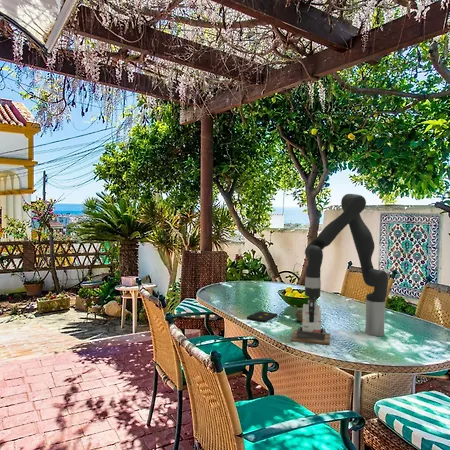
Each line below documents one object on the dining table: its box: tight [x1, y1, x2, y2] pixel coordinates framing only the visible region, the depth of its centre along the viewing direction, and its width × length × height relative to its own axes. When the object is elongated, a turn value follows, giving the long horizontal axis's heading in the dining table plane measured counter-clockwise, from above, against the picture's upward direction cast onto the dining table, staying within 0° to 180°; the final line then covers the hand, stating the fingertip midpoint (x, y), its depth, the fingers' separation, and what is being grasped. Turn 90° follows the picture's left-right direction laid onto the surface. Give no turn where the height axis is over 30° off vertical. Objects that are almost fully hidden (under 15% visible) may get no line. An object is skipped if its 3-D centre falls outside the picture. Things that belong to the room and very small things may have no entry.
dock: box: [290, 326, 331, 346], centre depth 191 cm, size 16×18×4 cm
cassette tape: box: [246, 310, 278, 324], centre depth 228 cm, size 18×12×2 cm, turn 149°
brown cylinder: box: [295, 309, 303, 323], centre depth 218 cm, size 15×7×7 cm, turn 37°
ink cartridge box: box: [301, 303, 322, 333], centre depth 191 cm, size 9×5×15 cm, turn 69°
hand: (311, 320), depth 191 cm, fingers closed on ink cartridge box, 5 cm apart
